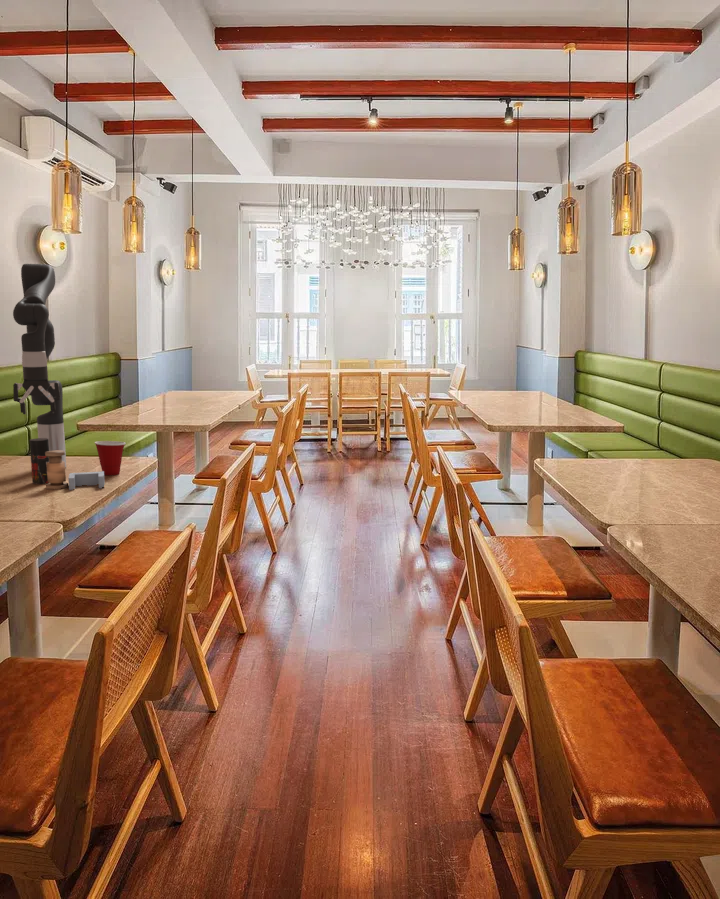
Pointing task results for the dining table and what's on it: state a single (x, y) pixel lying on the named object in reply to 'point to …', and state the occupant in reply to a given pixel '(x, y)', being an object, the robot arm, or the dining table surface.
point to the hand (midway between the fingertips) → (38, 413)
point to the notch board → (86, 479)
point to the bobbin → (56, 470)
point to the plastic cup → (110, 456)
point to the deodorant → (39, 460)
